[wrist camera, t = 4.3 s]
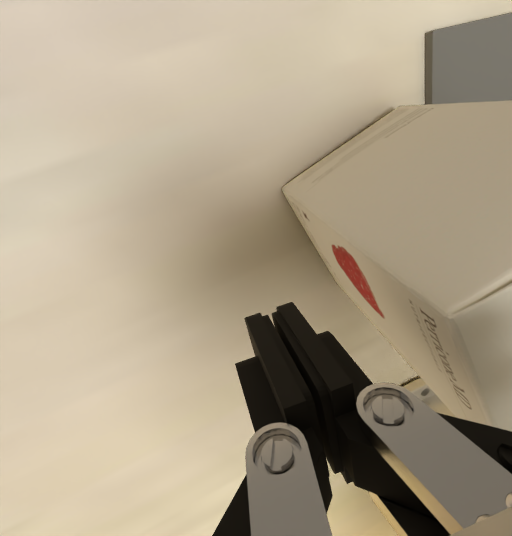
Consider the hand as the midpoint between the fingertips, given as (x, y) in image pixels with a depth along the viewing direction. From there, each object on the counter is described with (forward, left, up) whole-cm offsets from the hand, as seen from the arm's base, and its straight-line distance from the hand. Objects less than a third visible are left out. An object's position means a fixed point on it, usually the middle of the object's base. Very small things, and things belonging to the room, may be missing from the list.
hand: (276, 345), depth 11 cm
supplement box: (0, -10, -11) cm, 15 cm away
